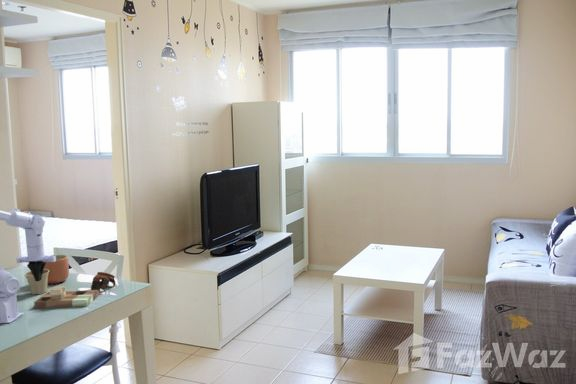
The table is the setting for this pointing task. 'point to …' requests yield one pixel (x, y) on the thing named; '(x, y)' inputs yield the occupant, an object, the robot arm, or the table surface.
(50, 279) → the planter
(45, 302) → the board
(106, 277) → the pottery mug
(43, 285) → the flower pot
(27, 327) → the table surface
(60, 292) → the birch block
